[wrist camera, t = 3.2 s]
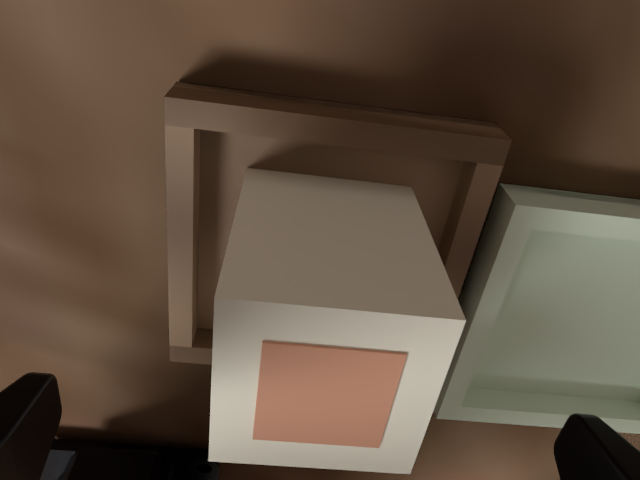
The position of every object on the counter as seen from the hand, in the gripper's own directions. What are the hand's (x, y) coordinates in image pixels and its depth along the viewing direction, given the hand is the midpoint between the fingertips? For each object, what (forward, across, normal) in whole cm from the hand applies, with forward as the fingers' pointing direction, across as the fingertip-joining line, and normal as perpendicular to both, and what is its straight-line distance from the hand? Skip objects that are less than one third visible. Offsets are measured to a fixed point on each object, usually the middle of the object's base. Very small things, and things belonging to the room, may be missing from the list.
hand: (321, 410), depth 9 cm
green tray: (+6, -8, +1) cm, 10 cm away
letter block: (+5, 0, 0) cm, 5 cm away
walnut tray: (+6, 0, 0) cm, 6 cm away
